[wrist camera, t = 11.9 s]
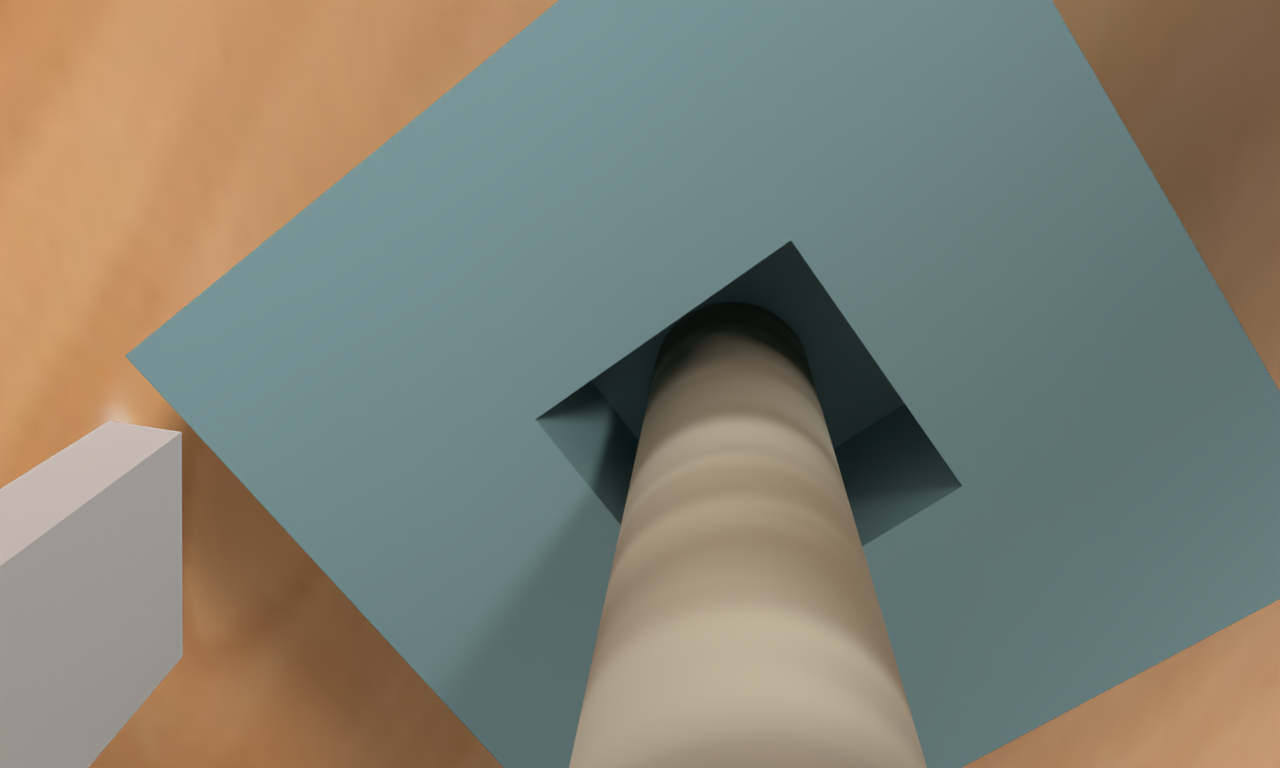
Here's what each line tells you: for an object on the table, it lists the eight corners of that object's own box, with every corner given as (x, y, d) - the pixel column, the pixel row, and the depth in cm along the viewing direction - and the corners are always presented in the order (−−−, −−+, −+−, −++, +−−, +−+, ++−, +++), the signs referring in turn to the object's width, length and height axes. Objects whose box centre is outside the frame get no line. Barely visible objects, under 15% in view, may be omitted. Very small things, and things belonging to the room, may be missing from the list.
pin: (624, 360, 19) (452, 890, 7) (749, 271, 18) (808, 686, 6) (713, 475, 20) (702, 1152, 8) (839, 393, 19) (1056, 995, 7)
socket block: (258, 285, 20) (125, 355, 15) (836, -182, 17) (892, -274, 12) (661, 753, 23) (653, 930, 19) (1211, 433, 20) (1371, 549, 15)
